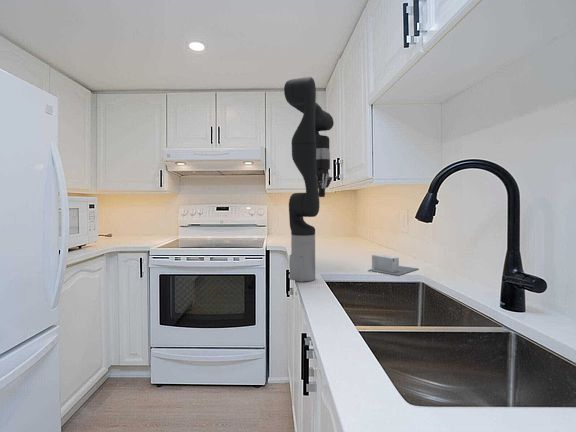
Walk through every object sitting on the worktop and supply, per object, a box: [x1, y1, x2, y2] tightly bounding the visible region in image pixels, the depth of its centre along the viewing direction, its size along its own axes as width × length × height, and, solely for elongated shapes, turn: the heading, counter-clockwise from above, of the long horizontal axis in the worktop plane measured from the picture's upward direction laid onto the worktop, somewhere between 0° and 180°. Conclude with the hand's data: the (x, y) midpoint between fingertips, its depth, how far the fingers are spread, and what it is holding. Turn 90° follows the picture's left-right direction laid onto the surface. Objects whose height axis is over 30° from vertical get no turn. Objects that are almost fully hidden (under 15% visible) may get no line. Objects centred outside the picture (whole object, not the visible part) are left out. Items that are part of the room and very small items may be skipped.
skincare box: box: [371, 253, 400, 272], centre depth 146 cm, size 6×4×12 cm
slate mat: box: [367, 265, 419, 277], centre depth 147 cm, size 18×14×1 cm
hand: (321, 196), depth 157 cm, fingers closed
